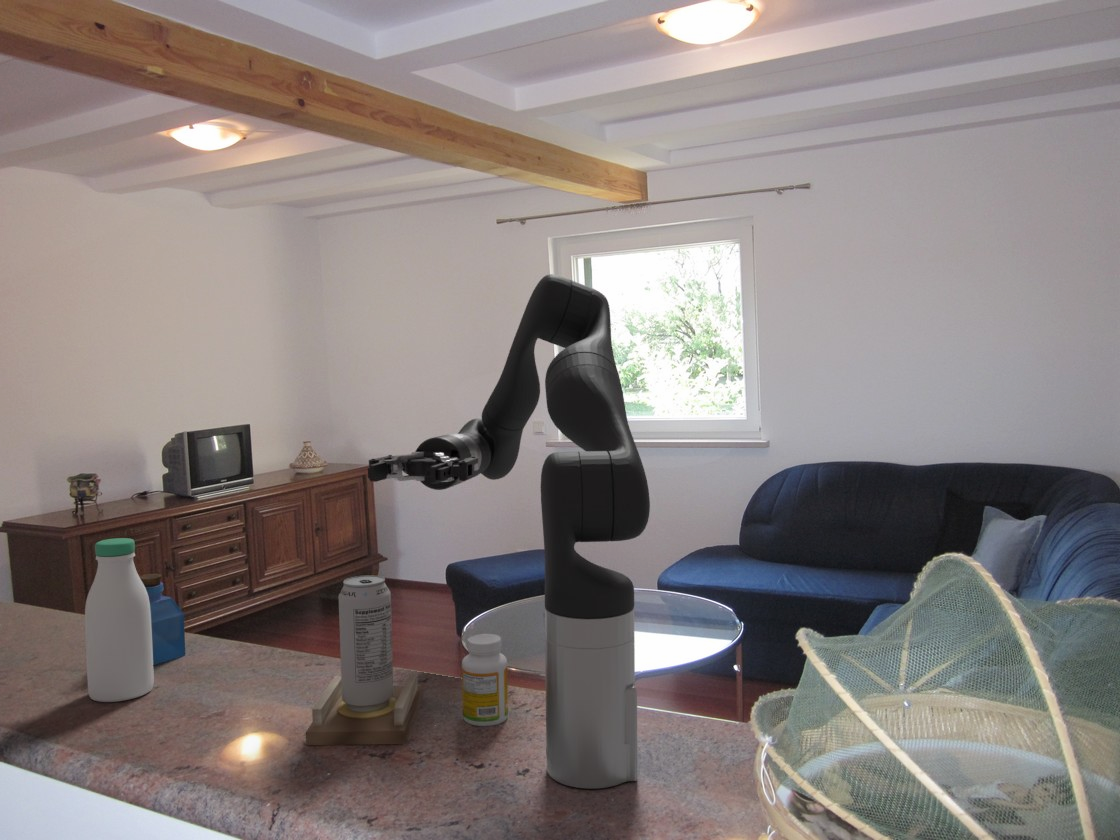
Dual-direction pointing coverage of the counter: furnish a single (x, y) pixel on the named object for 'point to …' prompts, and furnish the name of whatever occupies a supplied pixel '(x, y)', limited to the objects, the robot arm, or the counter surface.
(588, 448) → the robot arm
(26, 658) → the counter surface
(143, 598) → the milk bottle
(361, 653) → the energy drink can
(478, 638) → the supplement bottle
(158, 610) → the perfume bottle
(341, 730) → the stand
